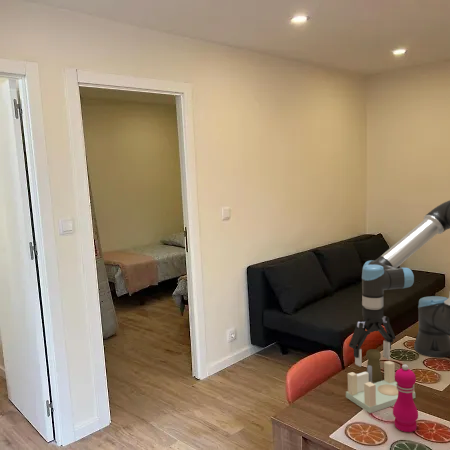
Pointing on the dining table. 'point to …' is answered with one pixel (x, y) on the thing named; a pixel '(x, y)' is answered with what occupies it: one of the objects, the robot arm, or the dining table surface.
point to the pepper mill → (405, 400)
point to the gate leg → (357, 382)
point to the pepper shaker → (374, 364)
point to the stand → (378, 391)
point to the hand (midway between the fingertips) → (372, 361)
